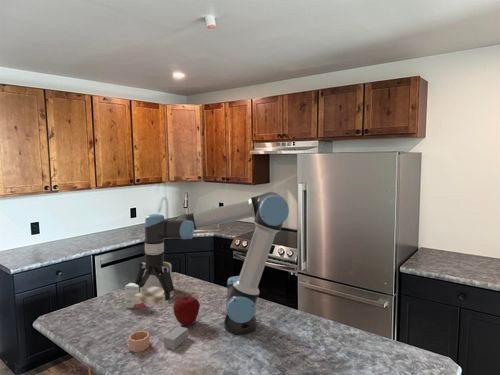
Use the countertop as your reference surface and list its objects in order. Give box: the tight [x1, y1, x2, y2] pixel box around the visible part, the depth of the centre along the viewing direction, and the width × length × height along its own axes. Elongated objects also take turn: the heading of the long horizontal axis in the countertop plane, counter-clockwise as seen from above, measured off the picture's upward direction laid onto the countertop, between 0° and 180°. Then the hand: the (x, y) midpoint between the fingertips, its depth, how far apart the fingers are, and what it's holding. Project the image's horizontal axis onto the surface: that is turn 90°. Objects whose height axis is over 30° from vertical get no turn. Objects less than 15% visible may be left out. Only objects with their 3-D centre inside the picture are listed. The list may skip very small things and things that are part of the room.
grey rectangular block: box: [163, 326, 189, 350], centre depth 142 cm, size 5×10×4 cm, turn 156°
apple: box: [172, 295, 201, 327], centre depth 158 cm, size 12×12×13 cm
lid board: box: [134, 286, 174, 306], centre depth 139 cm, size 11×11×2 cm
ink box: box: [124, 282, 146, 310], centre depth 177 cm, size 9×5×12 cm, turn 80°
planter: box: [143, 261, 172, 289], centre depth 197 cm, size 17×17×15 cm
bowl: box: [128, 330, 151, 353], centre depth 139 cm, size 8×8×4 cm
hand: (154, 304), depth 139 cm, fingers closed on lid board, 11 cm apart
